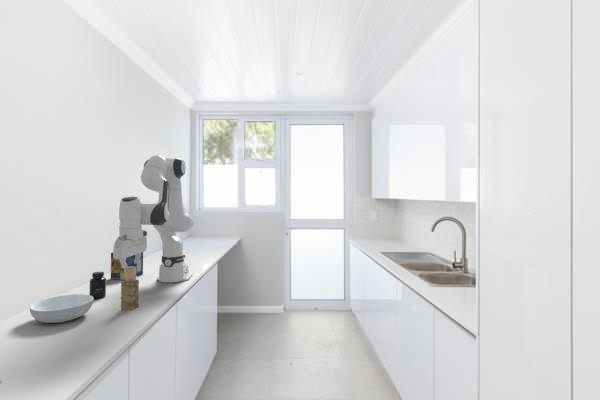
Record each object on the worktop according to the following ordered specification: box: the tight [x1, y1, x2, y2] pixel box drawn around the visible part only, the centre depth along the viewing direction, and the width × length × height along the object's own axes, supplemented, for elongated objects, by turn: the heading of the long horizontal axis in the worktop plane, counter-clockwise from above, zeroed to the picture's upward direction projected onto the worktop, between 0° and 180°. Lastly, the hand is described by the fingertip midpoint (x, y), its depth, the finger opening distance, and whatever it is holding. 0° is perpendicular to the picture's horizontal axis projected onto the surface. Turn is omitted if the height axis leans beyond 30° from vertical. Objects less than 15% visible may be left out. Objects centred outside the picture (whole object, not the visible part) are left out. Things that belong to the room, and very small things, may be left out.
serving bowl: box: [29, 293, 95, 324], centre depth 136 cm, size 21×21×7 cm
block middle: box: [120, 289, 140, 302], centre depth 150 cm, size 5×5×4 cm
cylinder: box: [123, 266, 137, 282], centre depth 150 cm, size 5×5×6 cm
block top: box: [120, 279, 140, 292], centre depth 150 cm, size 5×5×4 cm
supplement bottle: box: [88, 271, 107, 300], centre depth 165 cm, size 7×7×12 cm
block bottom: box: [120, 297, 140, 311], centre depth 150 cm, size 5×5×4 cm
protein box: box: [110, 251, 144, 281], centre depth 206 cm, size 10×15×16 cm
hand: (130, 265), depth 150 cm, fingers open, 8 cm apart
